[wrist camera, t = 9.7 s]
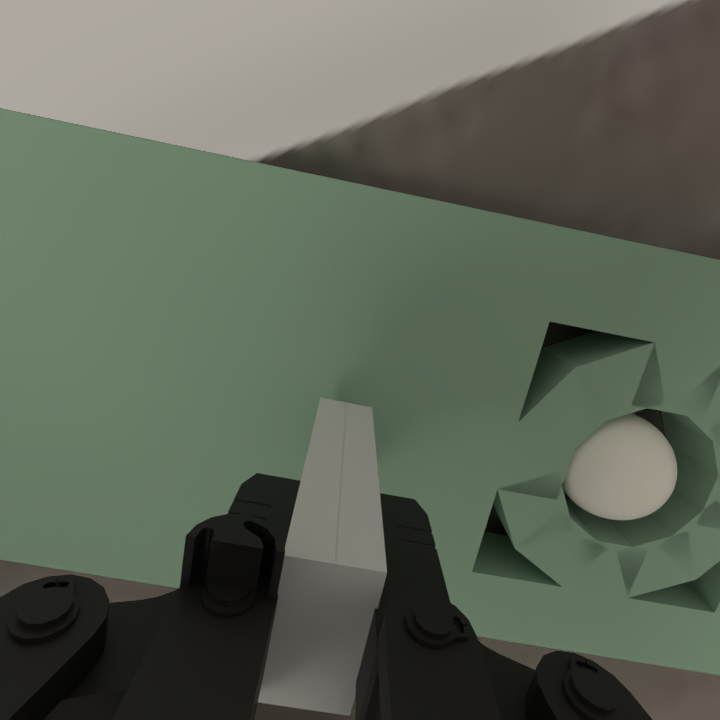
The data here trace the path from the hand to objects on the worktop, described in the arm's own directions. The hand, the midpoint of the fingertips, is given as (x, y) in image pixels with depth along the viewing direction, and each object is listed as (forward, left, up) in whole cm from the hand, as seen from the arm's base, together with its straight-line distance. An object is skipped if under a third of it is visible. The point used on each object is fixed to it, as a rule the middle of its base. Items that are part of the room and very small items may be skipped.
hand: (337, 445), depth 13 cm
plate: (+2, 0, -4) cm, 4 cm away
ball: (+9, 0, -2) cm, 9 cm away
